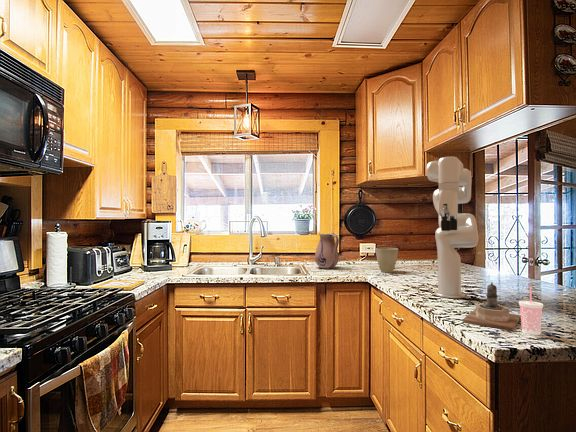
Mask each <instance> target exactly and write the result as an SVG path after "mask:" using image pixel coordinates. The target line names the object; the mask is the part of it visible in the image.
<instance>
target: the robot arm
mask: <svg viewBox="0 0 576 432" xmlns="http://www.w3.org/2000/svg"><path fill="white" fill-rule="evenodd" d="M425 171H426V176H427V179H428V180H429V181H431V182H433V183H434V182H435V183H438V188H437V189H435V190H434V191H433V192H432V193H433V194H432V201H433V202H432V203H433V207H434V209H435V210H436V212H437V215H438V228H437V229H436V230H435V235H434V237H435V243H436V250H437V251H436V253H437V290H436V291H434V295H435V296H437V297H441V298H445V299H463V298H466V294H465V292H462V268H461V267H462V266H461V264H462V263H461V262H462V261H461V260H462V259H461V256H460V254H459V252H457V250H456V249H455V248H466V249H467V248H474V247H475V248H476V247H477V246H478V243H479V241H480V240H479V238H480V237H479V232H478V230H479V229H478V225H477V220H476V216H475V215H474V214H472V213H468V212H467V213H465V212H464V213H462V212H461V213H459V211H458V210H459V204H468V203H469V202H470V201H471V198H472V185H473V184H472V183H473V182H472V179H473V178H472V172H471V171H470V170H469V169H468V168H464V164H463V162H462V161H461V160H460V159H459V158H458V157H457V156H444V157H440V158H439V159H438V160H432V161H429V162H428V163H427V164H426V168H425Z"/></svg>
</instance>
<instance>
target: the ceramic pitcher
mask: <svg viewBox="0 0 576 432" xmlns="http://www.w3.org/2000/svg"><path fill="white" fill-rule="evenodd" d="M318 236H319V240H318V244H317V246H316V250H315V253H314V262H315V263H316V265H317V266H318V267H319V268H321V269H327V270H328V269H330V270H331V269H334V268H335V267H336V266H337V264H338V263H339V260H340V259H339V258H340V257H339V251H338V247H339V243H340V242H339V241H340V239H339V236H338V235H337V234H333V233H326V234H325V233H320V234H318Z"/></svg>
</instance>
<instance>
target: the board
mask: <svg viewBox="0 0 576 432" xmlns="http://www.w3.org/2000/svg"><path fill="white" fill-rule="evenodd" d="M485 304H486V303H477V304H476V305H475V309H474V310H472V311H471V312H470V313H469V314H467V315H466V316H465V317H463V319H462V323H464V324H465V323H466V324H471V325H476V326H482V327H488V328H492V329H493V328H494V329H500V330H503V331H504V330H505V331H511V332H513V331H514V330H515V328H516V326H517V325H518V323H519V322H520V321H521V314H514V313H510V308H509V307H507V306H504V305H501V304H498V305H499V306H500V307H502V309H501V310H492V309H486V308H483V306H482V305H485Z"/></svg>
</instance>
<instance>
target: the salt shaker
mask: <svg viewBox="0 0 576 432" xmlns="http://www.w3.org/2000/svg"><path fill="white" fill-rule="evenodd" d="M493 283H494V282H492V281H491V282H490V284H488V285H487V286H486V291H487V292H486V294H485V296H486V303H484V304H485V305H482V306H483V308H486V309H492V310H501V309H502V307H500V306H499V305H500V304H499V303H498V297H499V295H498V294H497V293H498V292H497V291H498V288H497V285H495V284H493Z"/></svg>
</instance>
